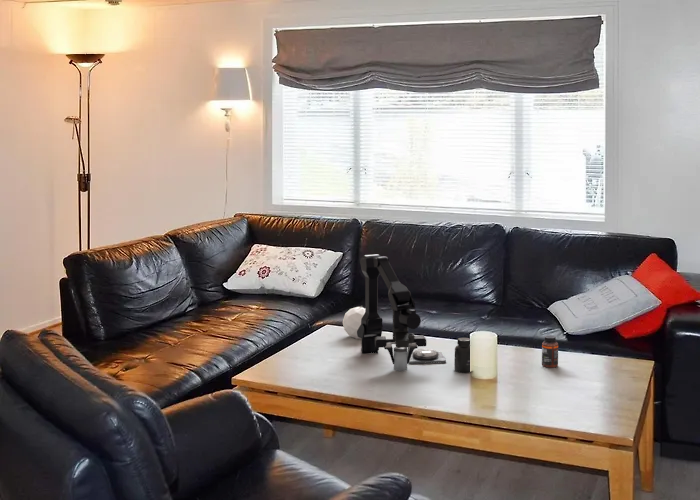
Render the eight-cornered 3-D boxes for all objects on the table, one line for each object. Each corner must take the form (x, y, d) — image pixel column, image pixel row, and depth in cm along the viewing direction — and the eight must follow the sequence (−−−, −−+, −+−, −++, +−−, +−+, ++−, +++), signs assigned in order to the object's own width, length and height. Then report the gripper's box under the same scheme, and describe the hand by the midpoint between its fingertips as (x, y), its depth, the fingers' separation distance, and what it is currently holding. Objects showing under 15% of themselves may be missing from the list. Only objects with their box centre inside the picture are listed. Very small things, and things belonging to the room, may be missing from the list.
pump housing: (394, 371, 303) (394, 350, 302) (393, 367, 308) (393, 346, 307) (408, 370, 303) (407, 349, 302) (406, 366, 308) (406, 346, 307)
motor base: (409, 363, 312) (409, 356, 311) (405, 354, 324) (405, 347, 323) (445, 362, 312) (446, 355, 312) (441, 354, 324) (441, 346, 324)
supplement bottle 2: (558, 364, 309) (559, 335, 307) (557, 368, 303) (558, 339, 301) (542, 362, 311) (543, 333, 309) (540, 367, 305) (541, 338, 303)
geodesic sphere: (345, 317, 361) (342, 297, 351) (376, 318, 359) (374, 298, 349) (342, 344, 351) (339, 324, 342) (374, 345, 350) (371, 325, 340)
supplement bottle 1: (472, 373, 299) (472, 342, 297) (453, 373, 300) (453, 341, 298) (473, 368, 305) (473, 337, 303) (455, 367, 307) (455, 336, 305)
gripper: (376, 329, 294) (377, 371, 297) (428, 327, 295) (428, 369, 298) (374, 321, 305) (374, 362, 308) (424, 320, 306) (424, 360, 309)
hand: (400, 363), depth 305 cm, fingers closed on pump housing, 5 cm apart
